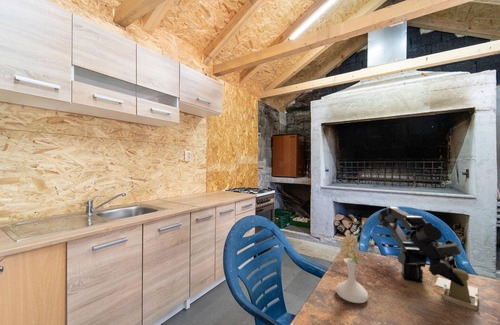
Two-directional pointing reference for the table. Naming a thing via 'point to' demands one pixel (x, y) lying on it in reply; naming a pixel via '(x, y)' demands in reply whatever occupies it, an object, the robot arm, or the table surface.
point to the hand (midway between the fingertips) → (464, 283)
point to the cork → (460, 287)
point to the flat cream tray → (459, 300)
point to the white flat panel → (442, 282)
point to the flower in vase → (351, 274)
